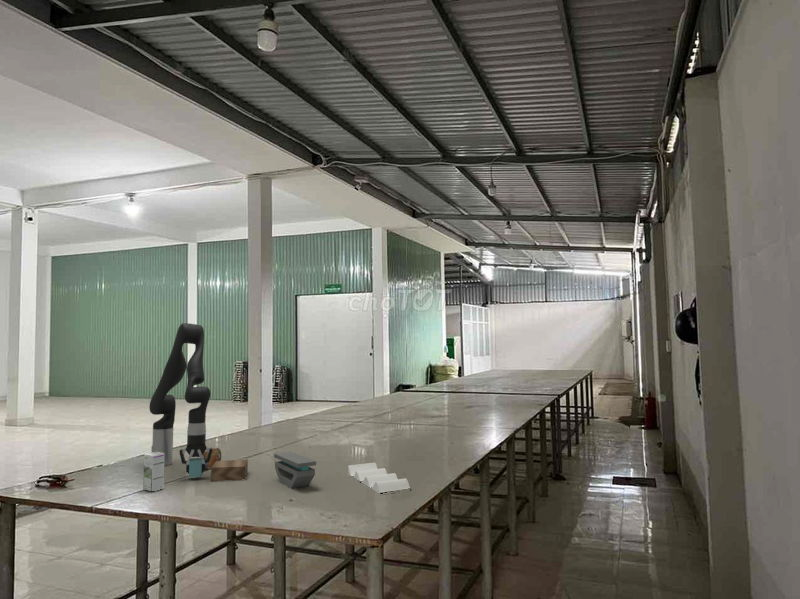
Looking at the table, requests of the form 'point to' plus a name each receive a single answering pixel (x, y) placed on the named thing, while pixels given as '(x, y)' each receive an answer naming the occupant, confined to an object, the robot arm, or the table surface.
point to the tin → (212, 457)
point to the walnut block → (229, 470)
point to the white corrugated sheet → (377, 478)
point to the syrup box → (153, 471)
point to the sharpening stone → (294, 469)
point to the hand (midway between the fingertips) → (195, 472)
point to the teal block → (195, 467)
